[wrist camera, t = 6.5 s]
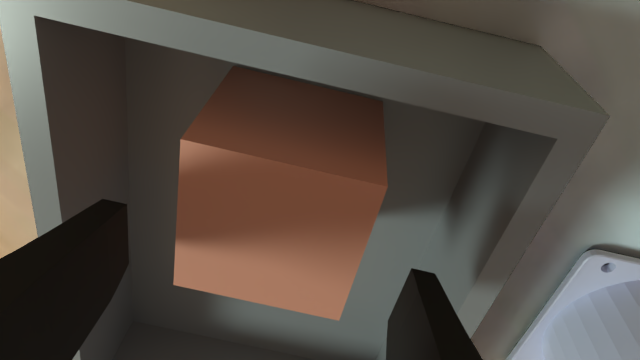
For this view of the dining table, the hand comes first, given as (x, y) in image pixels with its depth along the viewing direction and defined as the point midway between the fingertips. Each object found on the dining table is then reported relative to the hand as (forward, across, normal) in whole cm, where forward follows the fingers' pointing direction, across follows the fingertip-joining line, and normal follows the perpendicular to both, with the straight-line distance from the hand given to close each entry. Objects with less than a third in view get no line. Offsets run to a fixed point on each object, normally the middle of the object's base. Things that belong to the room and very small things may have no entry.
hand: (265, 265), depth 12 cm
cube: (+6, 0, 0) cm, 6 cm away
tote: (+6, 0, +4) cm, 7 cm away
